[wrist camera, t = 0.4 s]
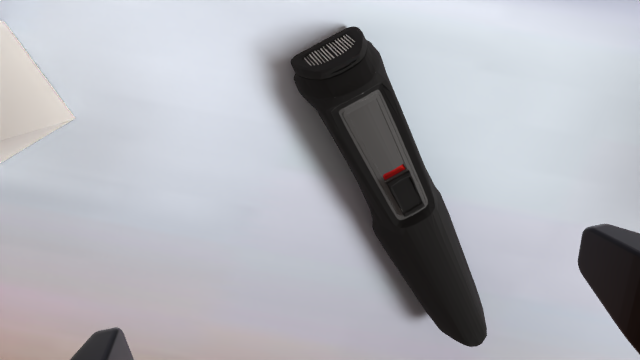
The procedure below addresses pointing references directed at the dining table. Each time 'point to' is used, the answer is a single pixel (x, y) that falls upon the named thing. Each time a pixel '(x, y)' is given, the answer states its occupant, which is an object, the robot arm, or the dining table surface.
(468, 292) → the electric trimmer
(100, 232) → the dining table surface
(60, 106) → the plug block
